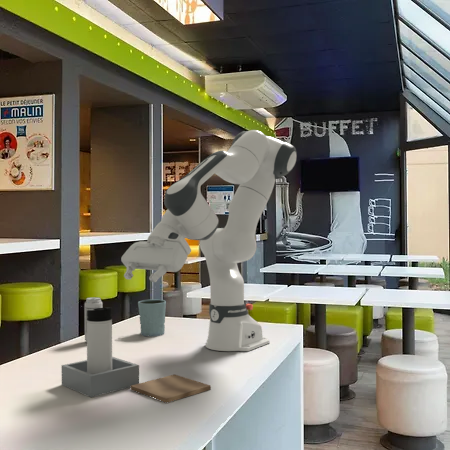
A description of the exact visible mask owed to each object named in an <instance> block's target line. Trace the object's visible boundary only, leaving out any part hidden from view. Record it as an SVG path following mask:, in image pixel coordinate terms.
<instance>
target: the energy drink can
mask: <svg viewBox="0 0 450 450" xmlns="http://www.w3.org/2000/svg"><path fill="white" fill-rule="evenodd" d="M85 300H86V301H84V341H85V343H87V310H94V309H96V308H104V307H103V301H102V300H101V297H97V296H96V297H95V296H93V297H87V298H85Z"/></svg>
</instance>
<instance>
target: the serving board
mask: <svg viewBox="0 0 450 450" xmlns="http://www.w3.org/2000/svg"><path fill="white" fill-rule="evenodd" d="M211 388H212V386H211V385H210V384H207V383H203V382H201V381H198V380H194V379H191V378H188V377H184V376H181V375H178V374H171V375H167V376H163V377H158V378H155V379H151V380H148V381H144V382H139V384H135V385H132V386H131V387H130V390H131V391H133V392H135V391H137V392H136V393H138V392H139V393H138V394H141V393H142V395H143V394H145V395H144V396H146V395H148V396H147V397H149V396H151V397H154V398H156V399H155V400H157V399H158V400H157V401H159V400H161V401H160V402H162V401H163V403H165V402H166V403H165V404H168V403H171V401H172V402H174V400H175V401H177V400H181V399H185V398H187V397H191V396H194V395H197V394H200V393H204V392H207V391H210V390H211ZM151 397H150V398H151ZM154 398H153V399H154ZM167 402H168V403H167Z"/></svg>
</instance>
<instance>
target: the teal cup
mask: <svg viewBox="0 0 450 450" xmlns="http://www.w3.org/2000/svg"><path fill="white" fill-rule="evenodd" d="M137 305H138V313H139V325H140V334H141V336H144V337H159V336H163V335H165V332H166V331H165V329H166V327H165V322H166V306H167V301H166V300H164V299H143V300H140V301H138V302H137Z"/></svg>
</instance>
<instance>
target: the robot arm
mask: <svg viewBox="0 0 450 450" xmlns="http://www.w3.org/2000/svg"><path fill="white" fill-rule="evenodd" d="M297 153H298V151H297V149H296V147H295V146H294V145H292V144H291V143H288V142H284V141H282V140H280V139H278V138H275V137H273V136H268V135H266V134H264V133H263V132H262V131H260V130H257V129H251V130H246V131H245V130H243V131H241V132H239V133H238V134H236V135H235V137H234V138H233V140H232V143H231V145H230V147H229V148H228V150H227V151H225V150H218V151H216V152H213V153H211V154H209V156H207V157H206V158H205V159H203V160H202V161H201V162H200V163H199V164H197V165H196V166H195V167H194V168H193V169H192V170H190V171H189V172H188V173H187V174H186V175H184V176H183V177H182V178H180V179H179V180H177V181H175V182H174V183H173V184H171V185H170V186H169V187H168V188H167V189H166V191H165V194H164V198H163V199H164V201H163V202H164V203H163V204H164V207H165V208H166V209H167V210H166V211H165V212H164V213H163V215H162V218H161V220H160V221H159V222H158V223H157V224H156V226H155V227H154V228H153V230H152V231H151V232H150V234H149V235H148V237H147V240H139V241H135V242H133V244H131V245H130V246H129V247H128V249H126V251H125V252H124V253H123V255H122V256H121V260H120V261H121V263H122V264H123V265H124V267H125V268H126V271H125V273H124V274H123V278H125V279H126V280H132V278H133V277H134V274H133V271H135V270H149V271H155V272H152V273H151V274H150V276H149V277H148V279H149V281H150V282H151V283H157V281H158V280H159V279H160V278H162V277H163V276H164V275H166V273H167V272H171V273H177V272H178V271H180V270H181V269H182V268H183V266H184V264H185V263H186V261H187V259H188V256H189V255H190V254H191V252H192V249H191V247H190V245H189V243H188V242H187V240H192V241H199V247H200V250H201V252H202V255H204V258H205V261H206V262H205V263H206V266H207V270H208V271H207V272H208V275H209V283H210V285H209V286H210V291H209V293H210V303H208V304H209V307H208V313H209V314H208V315H209V317H210V318H209V322H208V323H209V324H208V332H207V333H208V334H207V339H206V343H205V348H207V349H209V350H212V351H218V352H219V351H220V352H249V351H252V350H254V349H258V348H259V347H262V346H265V345H268V344H270V339H268V338H266V337H263V336H264V335H263V329H262V325H261V324H260V323H259V322H258V321H257V320H255V319H254V318H253V317H252V316H250V314H249V312H248V310H249V311H252V310H253V309H254V305H253V304H252V303H245V281H244V278H243V276H242V274H241V272H240V270H239V267H238V264H239V263H244V262H247V261H249V260H251V259H252V258H253V257H254V255H255V254H256V251H257V241H256V230H257V226H258V223H259V221H260V218H261V216H262V214H263V212H264V210H265V208H266V205H267V204H268V201H269V200H270V198H271V195H272V192H273V189H274V187H275V182H276V180H279V179H281V178H282V177H284V176H286V175H288V174H289V173H290V172H292V171H293V168H294V167H295V165H296V162H297V155H298V154H297ZM213 175H217V177H219V178H220V179H222V180H223V181H225V182H228V183H230V184H234V185H239V186H238V187H237V189H236V191H235V193H234V195H233V196H232V199H231V200H230V202H229V204H228V206H227V207H228V208H227V209H228V210H227V211H228V219H227V222H226V225H225V226H224V227H221V228H220V227H219V223H220V220H219V217H218V216H217V214H216V213H215V211H214V210H213V208H212V207H211V206H210V204H209V203H208V202H207V200H206V199H205V197H204V196H203V194H202V191H201V186H202V185H204V183H205V182H206V181H208V180H209V179H210V178H211V177H212V176H213ZM186 239H187V240H186Z"/></svg>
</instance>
